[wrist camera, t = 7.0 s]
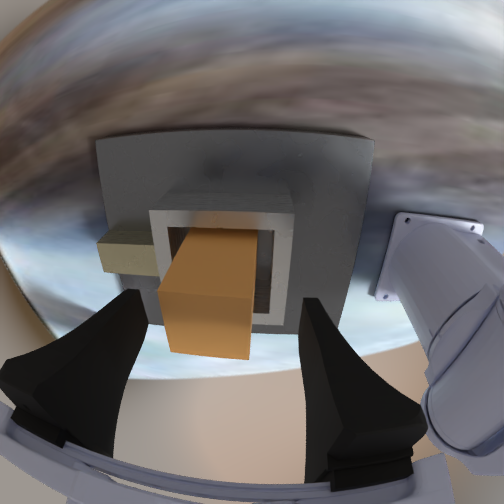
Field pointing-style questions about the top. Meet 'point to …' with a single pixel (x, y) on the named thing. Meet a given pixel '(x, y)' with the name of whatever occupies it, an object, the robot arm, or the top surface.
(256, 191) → the grey socket base
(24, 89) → the top surface
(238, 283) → the wedge pin
